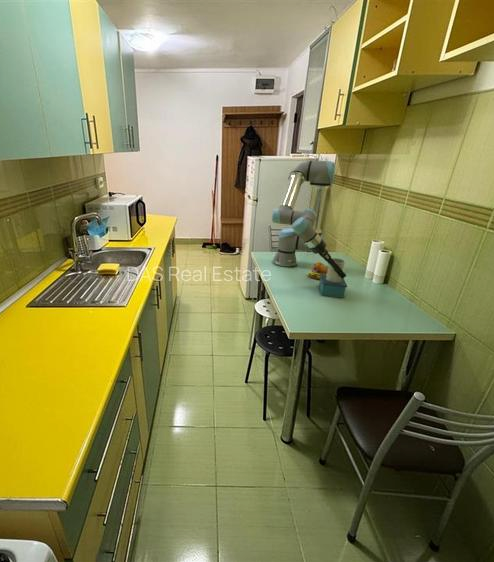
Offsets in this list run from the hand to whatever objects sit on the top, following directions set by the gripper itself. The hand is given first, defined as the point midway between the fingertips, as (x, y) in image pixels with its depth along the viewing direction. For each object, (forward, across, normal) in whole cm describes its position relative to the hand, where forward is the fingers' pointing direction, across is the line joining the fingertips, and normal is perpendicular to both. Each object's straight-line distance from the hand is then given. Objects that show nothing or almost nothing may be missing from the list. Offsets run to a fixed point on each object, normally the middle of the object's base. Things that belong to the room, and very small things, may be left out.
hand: (341, 274), depth 160 cm
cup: (0, 0, -5) cm, 5 cm away
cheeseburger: (+4, -21, -11) cm, 24 cm away
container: (+5, 0, -10) cm, 11 cm away
